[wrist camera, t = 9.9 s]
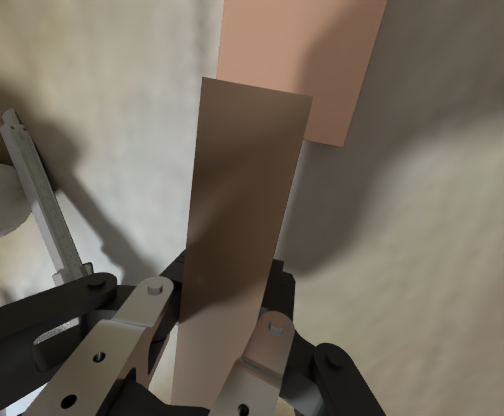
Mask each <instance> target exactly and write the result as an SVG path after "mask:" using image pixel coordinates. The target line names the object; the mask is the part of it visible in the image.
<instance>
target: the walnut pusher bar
mask: <svg viewBox="0 0 504 416" xmlns="http://www.w3.org/2000/svg"><path fill="white" fill-rule="evenodd" d="M312 100H313V97H312V96H306V95H301V94H295V93H289V92H284V91H278V90H273V89H267V88H262V87H256V86H251V85H245V84H239V83H234V82H228V81H223V80H217V79H212V78H206V77H202V86H201V96H200V107H199V117H198V127H197V138H196V148H195V159H194V169H193V179H192V190H191V200H190V211H189V221H188V231H187V242H186V252H185V263H184V273H183V283H182V294H181V304H180V315H179V325H178V335H177V346H176V356H175V367H174V377H173V387H172V398H171V405H179V406H196V407H204V408H207V409H209V410H211V409H212V407H213V405H214V403H215V401H216V399H217V397H218V395H219V393H220V391H221V389H222V387H223V385H224V383H225V381H226V379H227V377H228V375H229V373H230V371H231V369H232V367H233V365H234V363H235V361H236V359H237V358H238V357H239V358H240V357H241V355H242V353H243V351H244V349H245V347H246V345H247V343H248V341H249V339H250V337H251V335H252V332H253V330H254V328H255V326H256V323H257V319H258V315H259V311H260V307H261V304H262V300H263V296H264V292H265V288H266V284H267V280H268V276H269V272H270V268H271V264H272V260H273V257H274V253H275V249H276V245H277V241H278V237H279V233H280V229H281V225H282V221H283V217H284V213H285V209H286V205H287V201H288V197H289V193H290V189H291V185H292V181H293V177H294V173H295V169H296V165H297V161H298V157H299V153H300V149H301V145H302V141H303V137H304V133H305V129H306V125H307V121H308V117H309V113H310V109H311V105H312Z"/></svg>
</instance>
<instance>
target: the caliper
mask: <svg viewBox="0 0 504 416" xmlns="http://www.w3.org/2000/svg"><path fill="white" fill-rule="evenodd" d="M2 118H3V121H4V123H5V124H3V125H2V126H0V132H1V135H2V137H3V140H4V142H5V145H6V147H7V150H8V152H9V155H10V157H11V160H12V162H13V165H14V167H15V170H16V171H17V174H18V177H19V180H20V182H21V185H22V187H23V190H24V192H25V195H26V197H27V200H28V202H29V205H30V207H31V209H32V212H33V214H34V217H35V219H36V222H37V224H38V227H39V229H40V232H41V234H42V237H43V239H44V242H45V244H46V246H47V249H48V251H49V254H50V256H51V259H52V261H53V264H54V266H55V269H56V271H57V273H55V274H54V275H53V276H52V277H53V280H54V282H55V285H56V287H57V286H60V285H62V284H65V283H68V282H71V281H73V280H76V279H79V278H82V277H84V276H87V275H90V274H94V271H93V265H92V263H91V262H88V263H85V264H82V262H81V260H80V257H79V255H78V252H77V250H76V247H75V245H74V242H73V240H72V237H71V235H70V232H69V230H68V227H67V225H66V222H65V220H64V217H63V215H62V212H61V210H60V207H59V205H58V202H57V200H56V197H55V194H54V192H53V189H52V187H51V184H50V182H49V179H48V176H47V174H46V171H45V169H44V166H43V164H42V161H41V158H40V156H39V153H38V151H37V148H36V146H35V143H34V142H33V140H32V138H31V137H30V135H29V133H28V132H27V130H26V128H25V127H24V125H22V124H20V123H19V120H18V117H17V115H16V112H15V110H14V109H13V108H9V109H8V110H7V111H5V112H4V113H3V115H2ZM70 324H71V326H72V327H73V326H75V325H77V324H79V321H78V317H77V318H75V319H73V320H71V321H70Z"/></svg>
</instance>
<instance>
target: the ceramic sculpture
mask: <svg viewBox="0 0 504 416" xmlns="http://www.w3.org/2000/svg"><path fill="white" fill-rule="evenodd" d="M31 212H32V209H31V207H30V205H29V202H28V200H27V197H26V195H25V192H24V190H23V187H22V185H21V182H20V180H19V177H18V174H17V171H16V170H15V168H14V167H12V166H9V165H4V164H0V237H3V236H6V235H7V234H9V233H11V232H12V231H14V230H16V229H17V228H18V227H19V226H20V225H21V224H22V223H24V222H25V221H26V220H27V218H28V217H29V215H30V213H31Z"/></svg>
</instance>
